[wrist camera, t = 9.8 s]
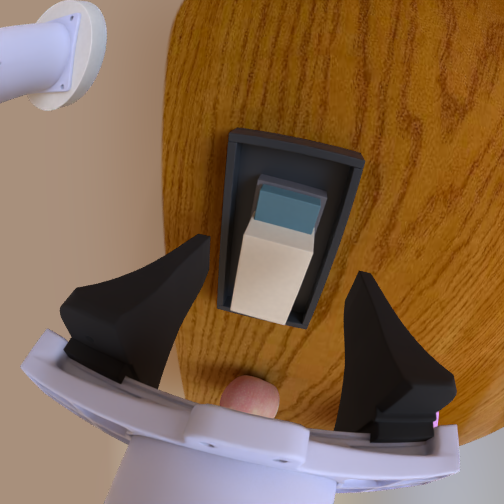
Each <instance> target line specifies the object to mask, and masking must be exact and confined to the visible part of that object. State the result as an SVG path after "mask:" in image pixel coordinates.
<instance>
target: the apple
mask: <svg viewBox="0 0 504 504" xmlns="http://www.w3.org/2000/svg"><path fill="white" fill-rule="evenodd" d="M220 406H222V407H226V408H229V409H233V410H237V411H241V412H245V413H250V414H254V415H259V416H263V417H268V418H273V419H274V417H275V416H276V414H277V411H278V407H279V393H278V390H277V388H276V387H275V386H274V385H272V384H270V383H268V382H266V381H264V380H262V379H260V378H257V377H253V376H248V375H242V376H239V377H237V378H236V379H234V380H233V381H232V382H231V383H230V384H229V385H228V386H227V387H226V388H225V390H224V392H223V394H222V396H221V400H220Z"/></svg>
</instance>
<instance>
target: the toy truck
mask: <svg viewBox="0 0 504 504" xmlns="http://www.w3.org/2000/svg"><path fill="white" fill-rule="evenodd" d="M326 201H327V191H324V190H321V189H317V188H314V187H310V186H307V185H303V184H299V183H296V182H292V181H288V180H284V179H280V178H276V177H272V176H268V175H264V174H261V175H260V176H259V178H258V181H257V186H256V191H255V196H254V201H253V206H252V211H251V217H250V222H249V224H248V226H247V228H246V231H245V233H244V236H243V241H242V247H241V252H240V258H239V263H238V269H237V274H236V280H235V286H234V291H233V297H232V303H231V308H230V310H231V311H234V312H238V313H241V314H245V315H248V316H252V317H256V318H259V319H263V320H267V321H271V322H274V323H278V324H282V325H285V323H286V321H287V318H288V316H289V314H290V311H291V309H292V306H293V304H294V301H295V299H296V296H297V294H298V291H299V289H300V286H301V284H302V281H303V279H304V276H305V274H306V271H307V268H308V266H309V263H310V260H311V258H312V255H313V248H314V236H315V233H316V230H317V227H318V225H319V222H320V219H321V216H322V213H323V210H324V207H325V204H326Z"/></svg>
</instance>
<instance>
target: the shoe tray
mask: <svg viewBox="0 0 504 504" xmlns="http://www.w3.org/2000/svg"><path fill="white" fill-rule="evenodd" d="M228 141H229V142H228V149H227V160H226V172H225V184H224V197H223V211H222V225H221V241H220V258H219V276H218V297H217V309H221V310H225V311H229V312H233V313H237V314H241V313H238V312H234V311H231V310H230V308H231V303H232V297H233V291H234V286H235V280H236V274H237V269H238V263H239V258H240V252H241V247H242V241H243V236H244V233H245V231H246V228H247V226H248V224H249V222H250V217H251V211H252V206H253V201H254V196H255V191H256V186H257V181H258V178H259V176H260V175H261V174H264V175H268V176H272V177H276V178H280V179H284V180H288V181H292V182H296V183H299V184H303V185H307V186H310V187H314V188H317V189H321V190H324V191H327V201H326V204H325V207H324V210H323V213H322V216H321V219H320V222H319V225H318V227H317V230H316V233H315V236H314V248H313V255H312V258H311V260H310V263H309V266H308V268H307V271H306V274H305V276H304V279H303V281H302V284H301V286H300V289H299V291H298V294H297V296H296V299H295V301H294V304H293V306H292V309H291V311H290V314H289V316H288V318H287V321H286V323H285V325H288V326H293V327H297V328H302V329H307V327H308V325H309V322H310V320H311V318H312V315H313V313H314V310H315V308H316V305H317V303H318V300H319V298H320V295H321V293H322V290H323V288H324V285H325V283H326V280H327V277H328V275H329V272H330V269H331V266H332V264H333V261H334V258H335V255H336V253H337V250H338V247H339V244H340V241H341V238H342V235H343V232H344V229H345V226H346V223H347V220H348V217H349V214H350V211H351V208H352V205H353V201H354V198H355V195H356V192H357V188H358V185H359V181H360V178H361V174H362V171H363V167H364V164H365V160H364V158H363V156H362V155H361V153H359V152H355V151H351V150H348V149H344V148H340V147H336V146H332V145H328V144H324V143H320V142H315V141H311V140H306V139H301V138H296V137H291V136H286V135H281V134H276V133H270V132H264V131H258V130H251V129H244V128H236V129H234V130H233V131H231V132H230V133H229V138H228ZM241 315H245V314H241ZM245 316H248V315H245ZM249 317H252V316H249ZM253 318H256V317H253ZM257 319H259V318H257ZM261 320H263V319H261ZM266 321H267V320H266ZM270 322H271V321H270Z"/></svg>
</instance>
